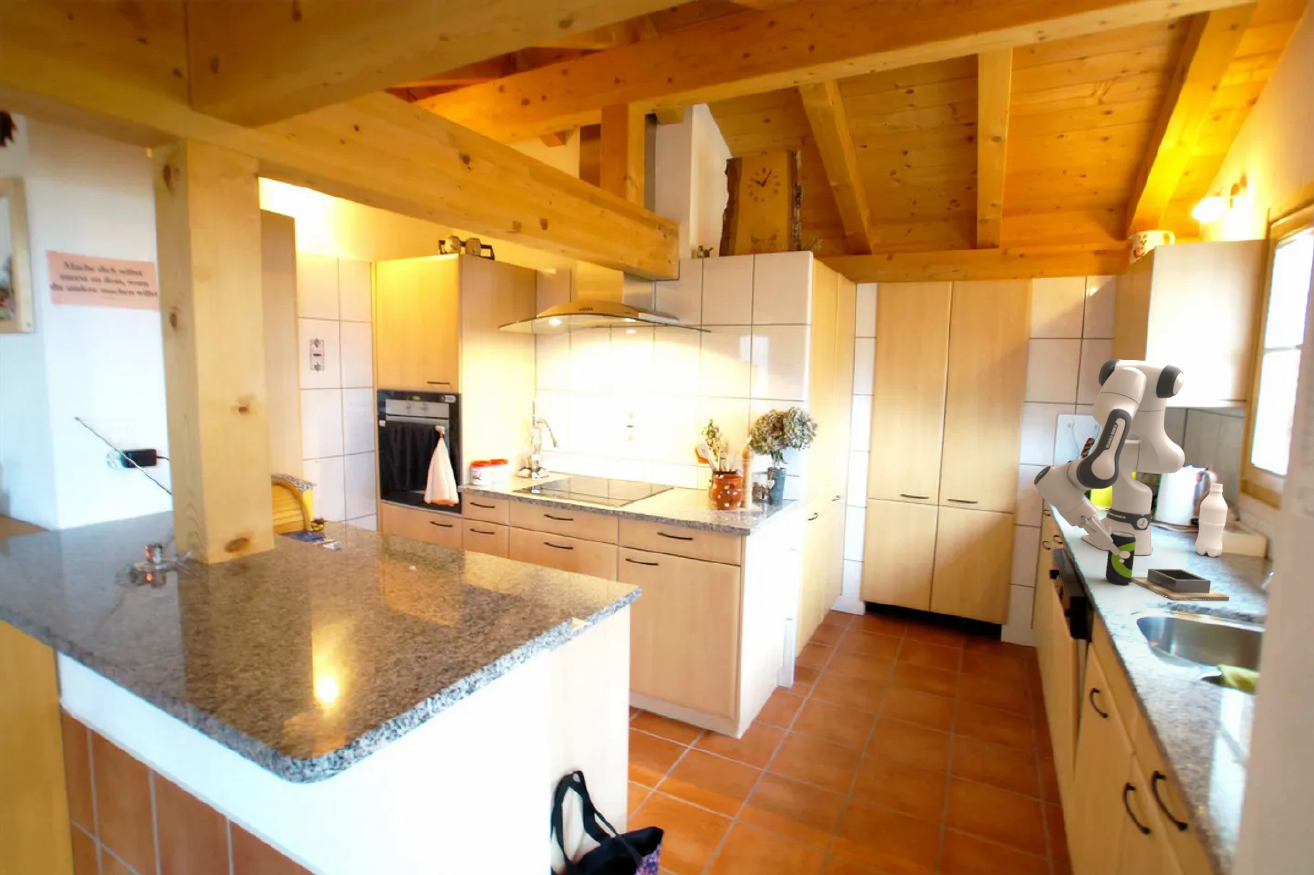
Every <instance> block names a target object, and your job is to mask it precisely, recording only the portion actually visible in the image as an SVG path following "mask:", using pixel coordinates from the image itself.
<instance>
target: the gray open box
mask: <svg viewBox="0 0 1314 875" xmlns="http://www.w3.org/2000/svg"><path fill="white" fill-rule="evenodd" d="M1146 577H1147V580H1148V581H1150V582H1152V583H1154V584H1157V585H1159V586H1161V587H1163V588H1166V589H1168V590H1170V591H1172V592H1175V593H1209V592H1210V589H1211V583H1212V581H1211V580H1209V579H1207V578H1204V577H1201V576H1200V575H1196V574H1194V573H1192V572H1189V571H1186V570H1184V569H1181V568H1147V575H1146Z"/></svg>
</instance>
